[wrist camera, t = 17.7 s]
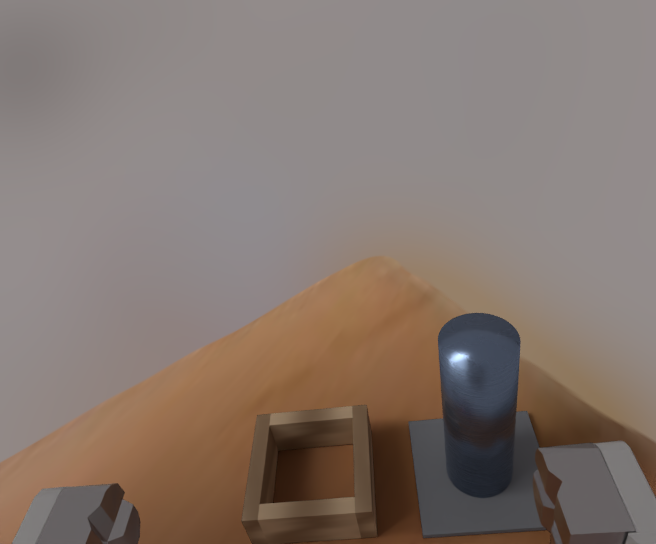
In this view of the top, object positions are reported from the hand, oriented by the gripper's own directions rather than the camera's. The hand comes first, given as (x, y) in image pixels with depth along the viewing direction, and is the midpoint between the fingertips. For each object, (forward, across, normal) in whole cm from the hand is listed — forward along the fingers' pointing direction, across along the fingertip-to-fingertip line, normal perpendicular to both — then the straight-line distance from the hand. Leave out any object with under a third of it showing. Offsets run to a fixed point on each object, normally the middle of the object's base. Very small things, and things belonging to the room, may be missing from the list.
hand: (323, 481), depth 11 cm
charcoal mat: (+19, -7, +30) cm, 36 cm away
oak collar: (+19, +6, +30) cm, 36 cm away
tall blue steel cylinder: (+19, -7, +30) cm, 36 cm away
